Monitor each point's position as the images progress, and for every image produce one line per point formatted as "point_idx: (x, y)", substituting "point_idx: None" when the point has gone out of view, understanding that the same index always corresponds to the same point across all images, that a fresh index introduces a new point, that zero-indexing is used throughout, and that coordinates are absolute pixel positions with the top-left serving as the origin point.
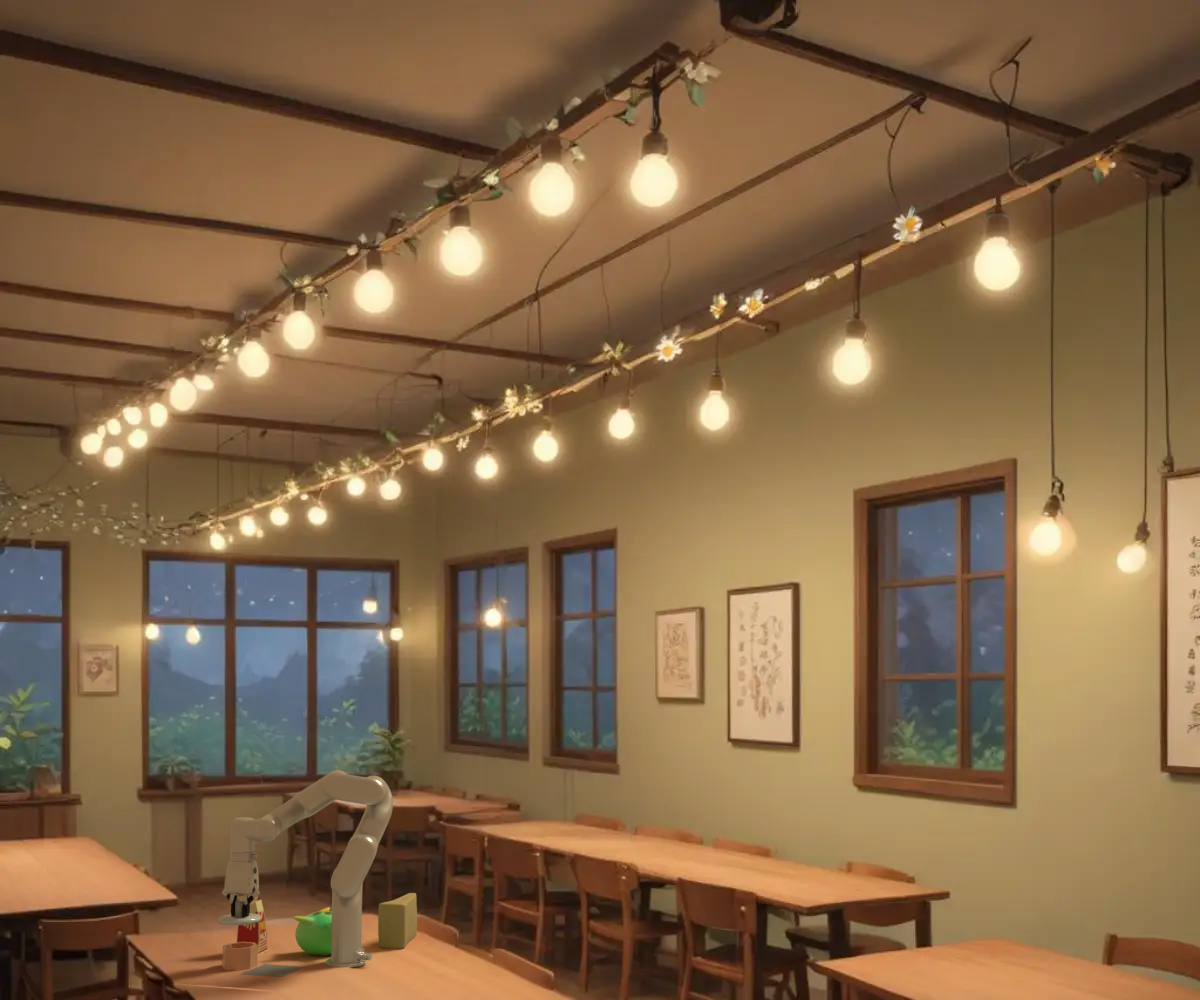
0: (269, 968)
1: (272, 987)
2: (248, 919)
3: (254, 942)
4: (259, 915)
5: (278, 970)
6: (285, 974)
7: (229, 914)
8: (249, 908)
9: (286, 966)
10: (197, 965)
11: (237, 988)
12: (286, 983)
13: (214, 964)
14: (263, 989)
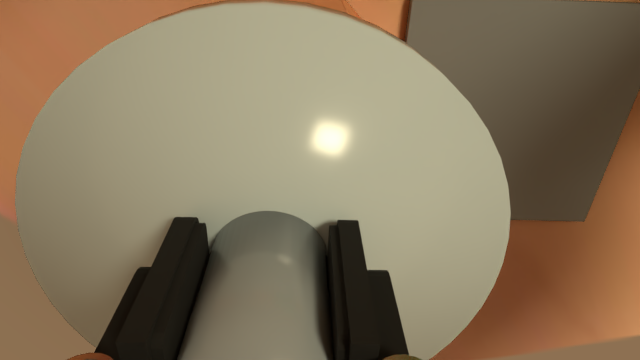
0: (481, 93)
1: (576, 317)
2: (424, 324)
3: (346, 11)
4: (460, 111)
5: (543, 121)
6: (597, 181)
7: (30, 163)
8: (398, 320)
9: (565, 26)
10: (31, 73)
11: (453, 347)
12: (619, 266)
13: (100, 28)
14: (549, 340)
